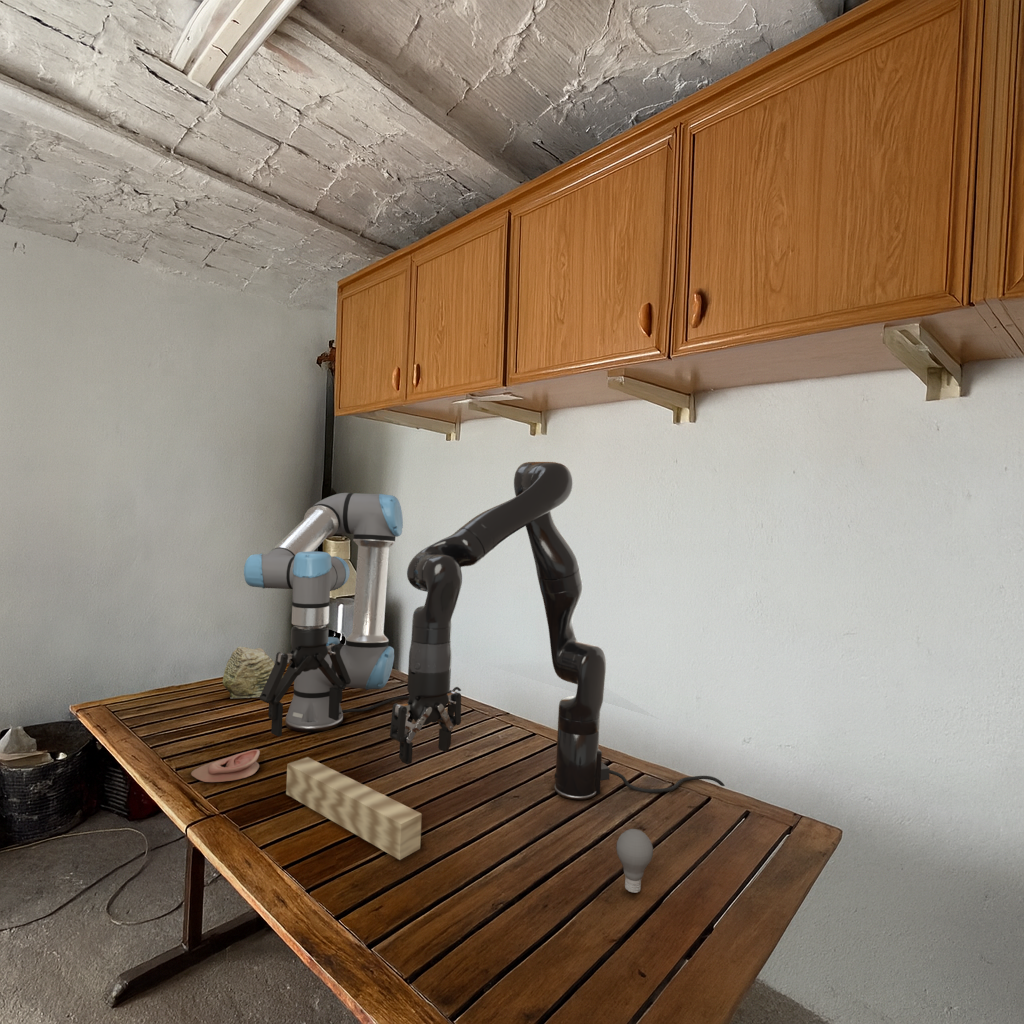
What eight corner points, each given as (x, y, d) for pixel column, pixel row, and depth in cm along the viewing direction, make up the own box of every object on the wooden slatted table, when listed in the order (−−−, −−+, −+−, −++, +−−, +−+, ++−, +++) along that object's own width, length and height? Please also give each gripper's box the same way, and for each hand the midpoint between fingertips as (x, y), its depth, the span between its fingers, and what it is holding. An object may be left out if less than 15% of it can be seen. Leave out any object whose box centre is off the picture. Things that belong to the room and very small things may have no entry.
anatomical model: (182, 760, 139) (216, 741, 150) (181, 778, 139) (216, 758, 150) (236, 768, 136) (267, 748, 147) (235, 786, 136) (266, 765, 147)
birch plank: (286, 794, 134) (287, 763, 134) (306, 786, 138) (307, 756, 138) (399, 860, 112) (401, 823, 112) (420, 848, 116) (421, 813, 116)
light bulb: (610, 879, 108) (613, 822, 108) (644, 879, 109) (647, 822, 109) (619, 902, 102) (622, 840, 102) (655, 901, 103) (658, 840, 103)
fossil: (218, 695, 195) (220, 647, 195) (278, 685, 208) (279, 640, 207) (228, 703, 189) (230, 653, 188) (289, 692, 201) (290, 645, 201)
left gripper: (348, 616, 145) (344, 708, 145) (244, 630, 126) (240, 736, 126) (369, 621, 140) (365, 716, 141) (264, 636, 121) (259, 747, 121)
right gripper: (446, 655, 120) (441, 740, 120) (384, 667, 110) (379, 760, 110) (473, 663, 115) (469, 752, 115) (411, 676, 105) (406, 774, 105)
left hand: (306, 726), depth 133 cm, fingers open, 13 cm apart
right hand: (425, 756), depth 112 cm, fingers open, 8 cm apart
